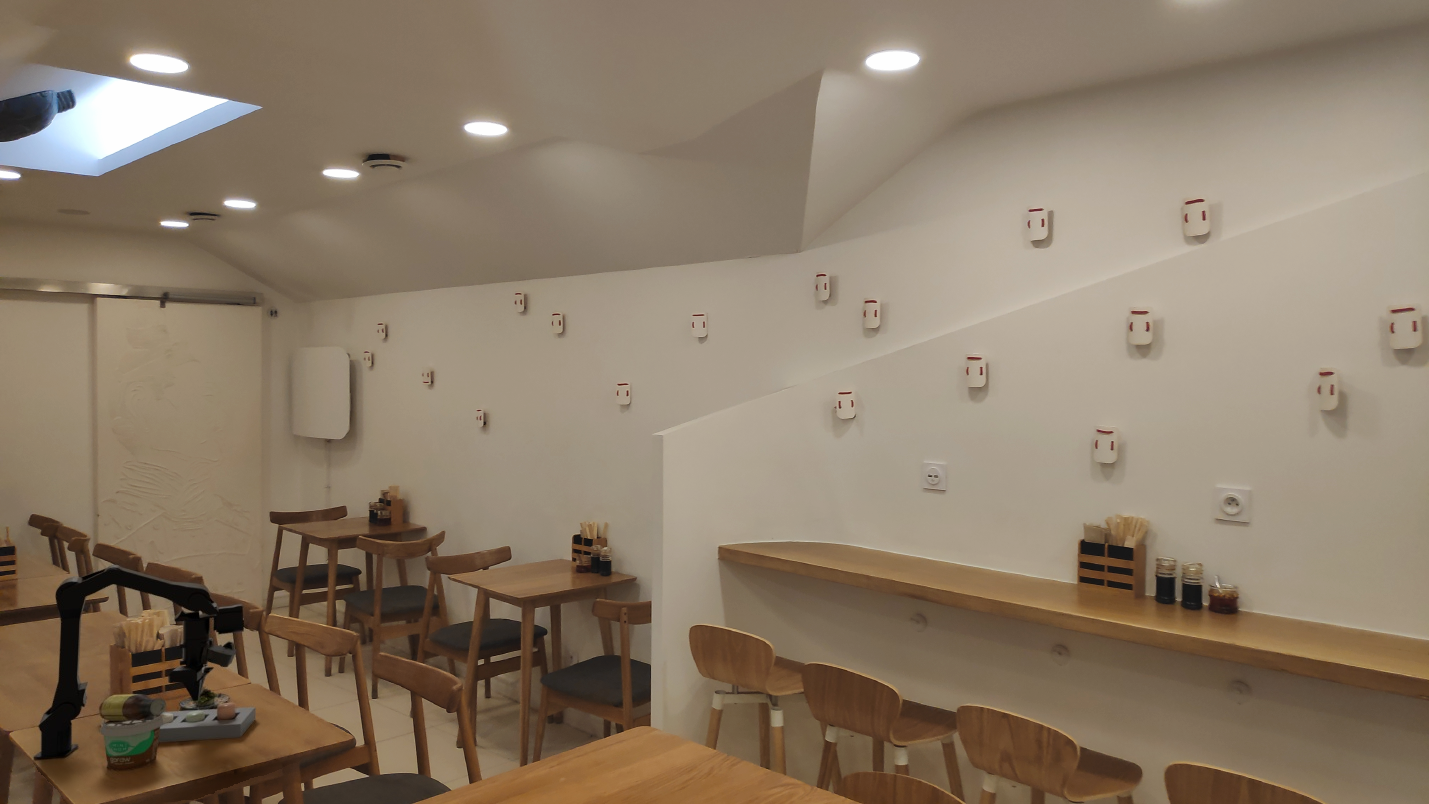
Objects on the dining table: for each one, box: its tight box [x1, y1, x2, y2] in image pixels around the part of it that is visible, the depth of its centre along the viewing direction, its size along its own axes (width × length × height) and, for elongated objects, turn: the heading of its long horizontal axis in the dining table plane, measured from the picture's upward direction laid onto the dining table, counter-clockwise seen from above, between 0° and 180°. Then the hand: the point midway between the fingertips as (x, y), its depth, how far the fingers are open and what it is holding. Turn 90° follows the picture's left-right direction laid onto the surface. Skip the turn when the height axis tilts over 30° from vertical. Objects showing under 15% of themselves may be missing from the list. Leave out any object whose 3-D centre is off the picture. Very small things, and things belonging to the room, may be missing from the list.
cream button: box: [154, 713, 173, 723], centre depth 217 cm, size 4×4×3 cm
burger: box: [178, 683, 231, 711], centre depth 236 cm, size 12×12×8 cm
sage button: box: [186, 711, 205, 722], centre depth 218 cm, size 4×4×3 cm
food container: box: [99, 715, 164, 772], centre depth 197 cm, size 12×6×10 cm, turn 105°
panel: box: [142, 706, 256, 743], centre depth 218 cm, size 12×24×3 cm, turn 102°
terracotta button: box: [216, 702, 237, 720], centre depth 220 cm, size 4×4×3 cm
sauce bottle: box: [98, 693, 167, 722], centre depth 222 cm, size 7×6×20 cm
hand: (196, 700), depth 218 cm, fingers closed
